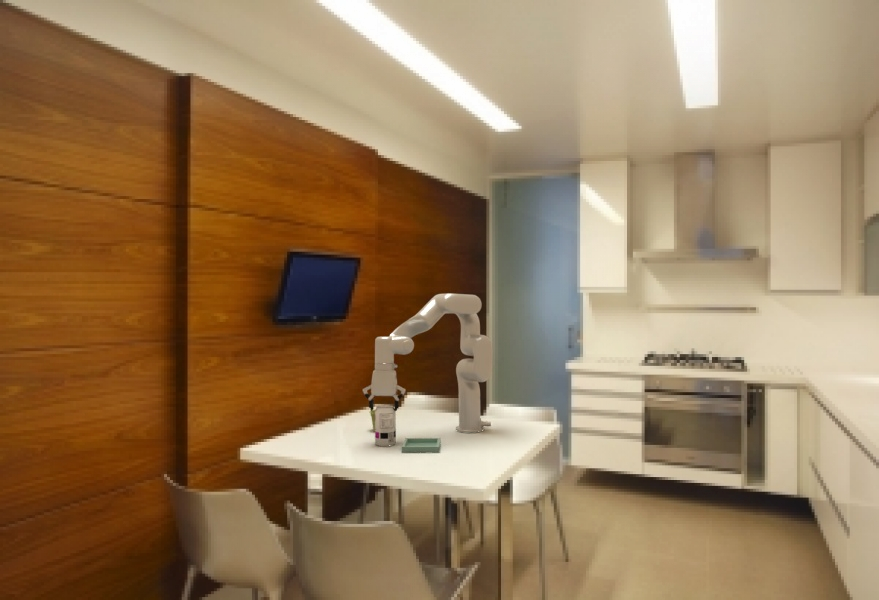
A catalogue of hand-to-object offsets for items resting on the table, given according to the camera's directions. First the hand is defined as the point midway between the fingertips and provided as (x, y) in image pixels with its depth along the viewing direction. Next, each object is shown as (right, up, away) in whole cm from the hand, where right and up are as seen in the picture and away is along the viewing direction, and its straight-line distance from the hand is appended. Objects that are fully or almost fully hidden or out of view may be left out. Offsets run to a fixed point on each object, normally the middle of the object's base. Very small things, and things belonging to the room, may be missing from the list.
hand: (383, 410), depth 216 cm
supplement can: (+1, -14, 0) cm, 14 cm away
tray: (+15, -13, -7) cm, 21 cm away
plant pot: (-4, -15, +25) cm, 29 cm away
